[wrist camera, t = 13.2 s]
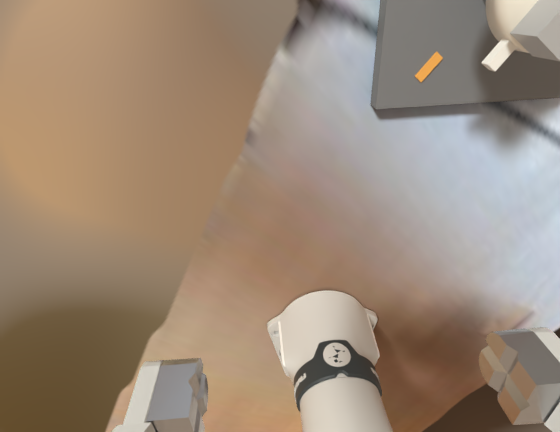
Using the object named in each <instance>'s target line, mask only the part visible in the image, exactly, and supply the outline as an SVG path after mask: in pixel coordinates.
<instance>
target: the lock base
mask: <svg viewBox="0 0 560 432" xmlns="http://www.w3.org/2000/svg"><path fill="white" fill-rule="evenodd" d="M498 43H499V41H498V40H497V39H496V38H495V37H494V35H493V34H492V32H491V30H490V28H489V25H488V21H487V17H486V0H380V10H379V20H378V31H377V42H376V52H375V63H374V74H373V84H372V95H371V106H373V107H374V108H375V109H389V108H404V107H420V106H436V105H452V104H468V103H483V102H499V101H515V100H531V99H547V98H560V61H555V60H550V59H545V58H539V57H534V56H532V55H531V54H530V53H526V52H520V51H516V50H514V51H513V52H512V53H511V55H510V56H509V57H508V58H507V59H506V60H505V61H504V62H503V63H502V65H501V66H500V67H499V68H498V69H497V70H496V71H491V70H488V69H487V68H486V67H485V66H484V65H483V64H482V63H481V62H482V61H483V60H484V59H485V58H486V57H487V56H488V54H489V53H490V52H491V51H492V50H493V49H494V47H495V46H496V45H497V44H498Z"/></svg>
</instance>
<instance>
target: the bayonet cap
mask: <svg viewBox="0 0 560 432" xmlns="http://www.w3.org/2000/svg"><path fill="white" fill-rule="evenodd" d="M486 17H487V21H488V25H489V28H490V30H491V32H492V34H493V35H494V37H495V38H496V39H497V40H498V41H499V43H498V44H497V45H496V46H495V47H494V49H493V50H492V51H491V52H490V53H489V54H488V56H487V57H486V58H485V59H484V60H483V61H482V62H481V63H482V64H483V65H484V66H485V67H486V68H487V69H488V70H491V71H496V70H497V69H498V68H499V67H500V66H501V65H502V63H503V62H504V61H505V60H506V59H507V58H508V57H509V56H510V55H511V53H512V52H513V51H514V50H516V51H520V52H526V53H530V54H531V55H532V56H534V57H539V58H545V59H550V60H555V61H560V0H486Z"/></svg>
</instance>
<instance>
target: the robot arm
mask: <svg viewBox="0 0 560 432" xmlns="http://www.w3.org/2000/svg"><path fill="white" fill-rule="evenodd" d="M377 320H378V319H377V315H376V313H375V312H373V311H371V310H369V309H366V308H364V307H363V306H362V305H361V304H360V303H359V302H358V301H357V300H356V299H355V298H353V297H352V296H350V295H348V294H346V293H342V292H338V291H318V292H313V293H309V294H306V295H304V296H302V297H300V298H298V299H296V300H295V301H293V302H292V303H291V304H290V305H289V306H288V307H287V308H286V309H285V310H284V311H283V312H282V313H281V314H280V315H279V316H277V317H275V318H273V319H272V320H270V321H269V322H268V323H267V328H268V332H269V334H270V337H271V339H272V342H273V345H274V347H275V350H276V352H277V355H278V357H279V360H280V362H281V365H282V367H283V370H284V372H285V374H286V375H287V376H289V377H290V379H291V381H292V383H293V385H294V396H295V400H296V404H297V408H298V410H299V411H300V413H301V421H302V430H303V432H393V430H392V427H391V425H390V422H389V419H388V417H387V414H386V411H385V408H384V405H383V402H382V399H381V396H382V390H381V386H380V380H379V377H378V375H377V373H376V370H375V367H374V366H375V365H376V363H377V360H378V358H379V357H380V355H379V350H378V347H377V343H376V340H375V336H374V333H373V330H374V328H375V325H376V323H377ZM485 341H486V342H487V344H488V346H487V347H485V348H484V349H483V350H481V352H480V355H479V358H478V359H479V367H480V370H481V373H482V375H483V377H484V379H485V381H486V382H487V384H488V385H489V386H490V387H492V388H493V389H495V390H496V391H498V402H499V403H500V405H501V407H502V408H503V410H504V412H505V413H506V415H507V416H508V418H509V420H510V421H511V423H512V424H513V425H519V424H533V423H545V424H544V425H545V426H546V427H548V428H549V429H550V430H551V431H552V432H560V339H559V338H558V337H557V336H556V335H555V334H554V333H553V332H552V331H551V330H550V329H548V328H543V327H541V328H532V329H516V330H506V331H497V332H491V333H490V334H488V336H487V338H486V340H485ZM202 370H203V363H202V360H201V358H191V359H176V360H160V361H149V362H144V364H143V365H142V367H141V368H140V371H139V375H138V378H137V381H136V384H135V387H134V391H133V394H132V397H131V400H130V404H129V407H128V410H127V413H126V416H125V420H124V423H123V425H117V426H116V427H115V428H114V429H113V430H112V431H111V432H204V430H205V427H204V423H203V420H202V416H203V415H204V413H205V412H206V411H207V403H208V384H207V378H206V375H205V374H204V373H202Z"/></svg>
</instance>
